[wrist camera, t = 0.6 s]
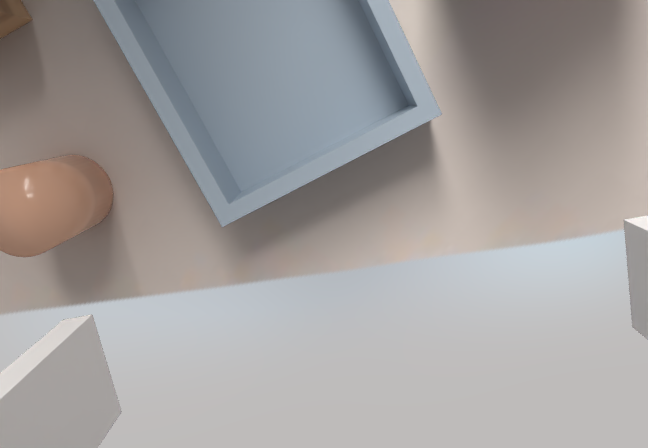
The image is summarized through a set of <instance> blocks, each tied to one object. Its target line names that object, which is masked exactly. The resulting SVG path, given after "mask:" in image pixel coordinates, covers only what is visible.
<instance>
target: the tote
mask: <svg viewBox="0 0 648 448" xmlns="http://www.w3.org/2000/svg"><path fill="white" fill-rule="evenodd" d="M93 1H94V2H95V4H96V6H97V8H98V9H99V11H100V13H101V15H102V16H103V18H104V20H105V22H106V23H107V25H108V27H109V29H110V31H111V32H112V34H113V36H114V38H115V39H116V41H117V43H118V45H119V46H120V48H121V50H122V52H123V53H124V55H125V57H126V59H127V61H128V62H129V64H130V66H131V68H132V69H133V71H134V73H135V75H136V76H137V78H138V80H139V82H140V83H141V85H142V87H143V89H144V90H145V92H146V94H147V96H148V98H149V99H150V101H151V103H152V105H153V106H154V108H155V110H156V112H157V113H158V115H159V117H160V119H161V120H162V122H163V124H164V126H165V127H166V129H167V131H168V133H169V135H170V136H171V138H172V140H173V142H174V143H175V145H176V147H177V149H178V150H179V152H180V154H181V156H182V157H183V159H184V161H185V163H186V164H187V166H188V168H189V170H190V172H191V173H192V175H193V177H194V179H195V180H196V182H197V184H198V186H199V187H200V189H201V191H202V193H203V194H204V196H205V198H206V200H207V201H208V203H209V205H210V207H211V209H212V210H213V212H214V214H215V216H216V217H217V219H218V221H219V223H220V224H221V226H222V227H224V226H226V225H227V224H229V223H231V222H233V221H235V220H237V219H239V218H241V217H243V216H245V215H247V214H249V213H251V212H253V211H255V210H257V209H259V208H261V207H262V206H264V205H266V204H268V203H270V202H272V201H274V200H276V199H278V198H280V197H282V196H284V195H286V194H288V193H290V192H292V191H294V190H296V189H297V188H299V187H301V186H303V185H305V184H307V183H309V182H311V181H313V180H315V179H317V178H319V177H321V176H323V175H325V174H327V173H329V172H331V171H332V170H334V169H336V168H338V167H340V166H342V165H344V164H346V163H348V162H350V161H352V160H354V159H356V158H358V157H360V156H362V155H364V154H366V153H368V152H369V151H371V150H373V149H375V148H377V147H379V146H381V145H383V144H385V143H387V142H389V141H391V140H393V139H395V138H397V137H399V136H401V135H403V134H404V133H406V132H408V131H410V130H412V129H414V128H416V127H418V126H420V125H422V124H424V123H426V122H428V121H430V120H432V119H434V118H436V117H438V116H439V115H441V114H442V113H441V111H440V109H439V107H438V104H437V102H436V100H435V98H434V96H433V94H432V92H431V90H430V87H429V85H428V83H427V81H426V79H425V77H424V75H423V73H422V71H421V68H420V66H419V64H418V62H417V60H416V58H415V56H414V54H413V51H412V49H411V47H410V45H409V43H408V41H407V39H406V37H405V34H404V32H403V30H402V28H401V26H400V24H399V22H398V20H397V17H396V15H395V13H394V11H393V9H392V7H391V5H390V3H389V0H93Z"/></svg>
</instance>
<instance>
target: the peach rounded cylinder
mask: <svg viewBox="0 0 648 448" xmlns="http://www.w3.org/2000/svg"><path fill="white" fill-rule="evenodd" d="M112 202H113V188H112V184H111V182H110V179H109V177H108V175H107V174H106V172H105V171H104V170H103V169H102V167H100V166H99V165H98V164H97V163H96V162H94V161H93V160H91V159H89V158H86V157H84V156H80V155H65V156H61V157H56V158H51V159H47V160H42V161H37V162H33V163H28V164H24V165H19V166H14V167H10V168H5V169H2V170H0V250H1V251H3V252H5V253H7V254H10V255H13V256H18V257H31V256H36V255H39V254H42V253H44V252H46V251H48V250H50V249H51V248H53V247H55V246H57V245H59V244H61V243H63V242H65V241H67V240H68V239H70V238H72V237H74V236H76V235H78V234H80V233H82V232H84V231H86V230H87V229H89V228H91V227H93V226H95V225H97V224H98V223H100V222H101V221H102V220H103V219H104V218H105V217H106V216H107V214H108V213H109V211H110V209H111V206H112Z"/></svg>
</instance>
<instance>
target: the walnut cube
mask: <svg viewBox="0 0 648 448" xmlns="http://www.w3.org/2000/svg"><path fill="white" fill-rule="evenodd" d="M31 20H32V18H31V16H30V15H29V13H28V11H27V10H26V8H25V6H24V5H23V3H22V1H21V0H0V39H1V38H3V37H4V36H6V35H8V34H9V33H11V32H13V31H15V30H16V29H18V28H20V27H21V26H23V25H25V24H26V23H28V22H30V21H31Z"/></svg>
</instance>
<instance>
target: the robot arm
mask: <svg viewBox="0 0 648 448" xmlns="http://www.w3.org/2000/svg"><path fill="white" fill-rule="evenodd" d="M624 230H625V240H626V241H625V242H626V255H627V266H628V278H629V292H630V304H631V315H632V327H633V328H634V329H635V330H637V331H638V332H639V333H640V334H642V335H643V336H644V337H645V338H646V339H648V216H642V217H636V218H631V219H625V220H624ZM120 414H121V408H120V405H119V402H118V398H117V395H116V392H115V388H114V385H113V382H112V379H111V375H110V372H109V368H108V365H107V362H106V358H105V355H104V352H103V348H102V345H101V342H100V339H99V335H98V332H97V329H96V325H95V322H94V319H93V315H87V316H81V317H75V318H70V319H64V320H62V321H61V322H60V323H59V324H57V325H56V326H55V327H54V328H53V329H52V330H50V331H49V332H48V333H47V334H46V335H45V336H43V337H42V338H41V339H40V340H38V341H37V342H36V343H35V344H34V345H33V346H31V347H30V348H29V349H28V350H27V351H25V352H24V353H23V354H22V355H21V356H19V357H18V358H17V359H16V360H15V361H14V362H12V363H11V364H10V365H9V366H8V367H6V368H5V369H4V370H3V371H2V372H1V373H0V448H98V446H99V445H100V443H101V442H102V440H103V439H104V438H105V436H106V435H107V433H108V432H109V430H110V428H111V427H112V426H113V424H114V422H115V421H116V419H117V418H118V417H119V415H120Z"/></svg>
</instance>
